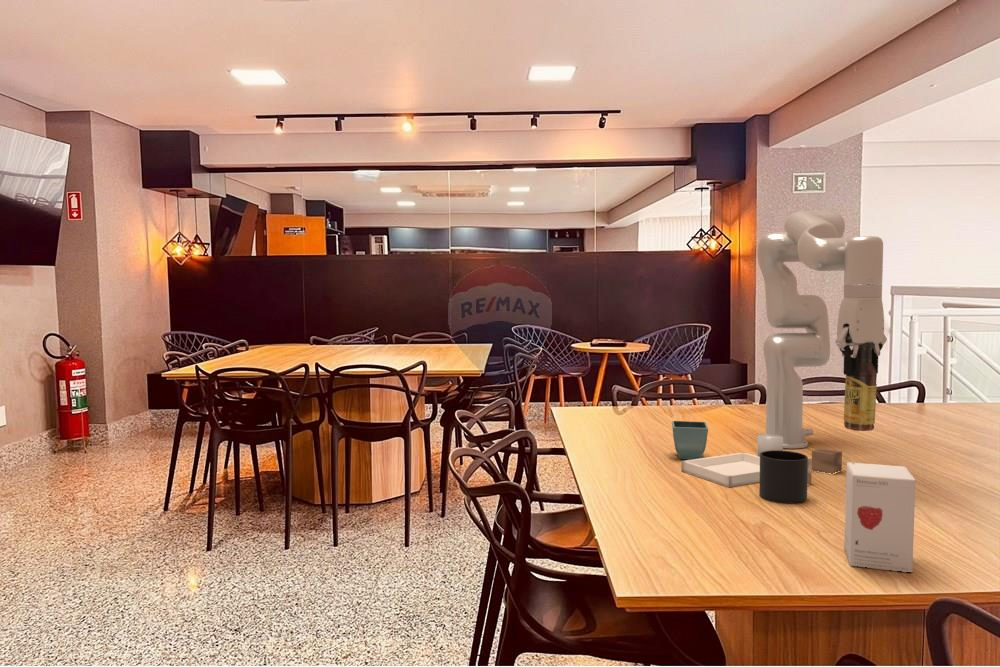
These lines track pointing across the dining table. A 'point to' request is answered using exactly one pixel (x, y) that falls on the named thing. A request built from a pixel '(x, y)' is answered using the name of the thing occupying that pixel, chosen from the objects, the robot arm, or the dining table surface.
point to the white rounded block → (769, 443)
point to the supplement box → (879, 516)
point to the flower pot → (690, 438)
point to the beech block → (809, 470)
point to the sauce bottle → (861, 392)
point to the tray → (725, 469)
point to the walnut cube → (826, 460)
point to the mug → (783, 476)
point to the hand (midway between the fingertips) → (860, 373)
